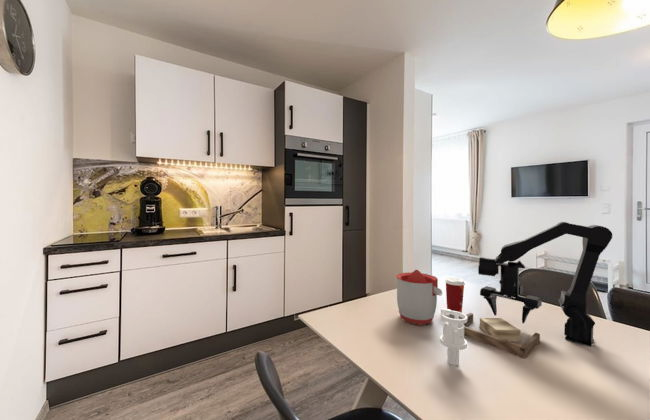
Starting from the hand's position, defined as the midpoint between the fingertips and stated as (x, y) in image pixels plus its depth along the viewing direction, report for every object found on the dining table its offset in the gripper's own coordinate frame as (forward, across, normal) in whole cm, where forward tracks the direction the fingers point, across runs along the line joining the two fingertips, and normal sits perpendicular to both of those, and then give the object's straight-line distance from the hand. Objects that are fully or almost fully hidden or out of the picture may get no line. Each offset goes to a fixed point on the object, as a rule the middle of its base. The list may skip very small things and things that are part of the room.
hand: (508, 319), depth 104 cm
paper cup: (+3, +19, +3) cm, 20 cm away
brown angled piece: (+2, 0, +14) cm, 14 cm away
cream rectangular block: (+3, 0, +10) cm, 11 cm away
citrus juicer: (+3, +24, +22) cm, 33 cm away
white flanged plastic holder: (+3, +2, +41) cm, 41 cm away
